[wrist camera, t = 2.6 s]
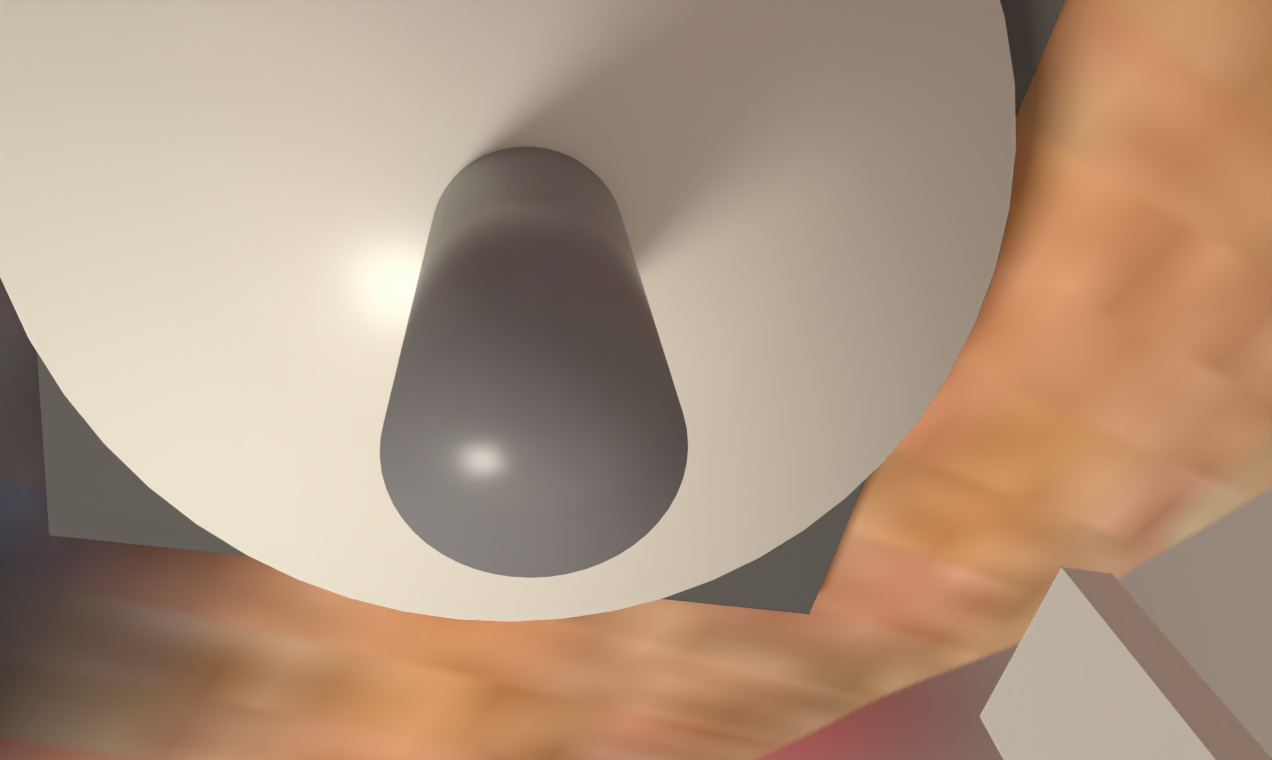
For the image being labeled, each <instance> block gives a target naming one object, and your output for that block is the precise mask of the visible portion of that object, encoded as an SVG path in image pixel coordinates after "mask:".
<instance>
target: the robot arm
mask: <svg viewBox="0 0 1272 760" xmlns="http://www.w3.org/2000/svg"><path fill="white" fill-rule="evenodd" d="M980 718H981V720H982V722H983V723H984V725H985V727H986V729H987V731H988V732H989V734H990V736H991V738H992V740H993V741H994V743H995V745H996V747H997V749H998V750H999V752H1000V754H1001V756H1002V758H1003V759H1004V760H1272V758H1271V757H1270V756H1269V755H1268V753H1267V752H1266V751H1265V750H1264V749H1263V748H1262V747H1261V745H1260V744H1259V743H1258V742H1257V741H1256V740H1255V738H1254V737H1253V736H1252V735H1251V734H1250V733H1249V732H1248V730H1247V729H1246V728H1245V727H1244V726H1243V725H1242V723H1241V722H1240V721H1239V720H1238V719H1237V718H1236V717H1235V715H1234V714H1233V713H1232V712H1231V711H1230V710H1229V708H1227V706H1226V705H1225V704H1224V703H1223V702H1222V700H1221V699H1220V698H1219V697H1218V696H1217V695H1216V694H1215V692H1214V691H1213V690H1212V689H1211V688H1210V687H1209V685H1208V684H1207V683H1206V682H1205V681H1204V680H1203V678H1202V677H1201V676H1200V675H1199V674H1198V673H1197V672H1196V671H1195V669H1194V668H1193V667H1192V666H1191V665H1190V663H1189V662H1188V661H1187V660H1186V659H1185V658H1184V657H1183V656H1182V654H1181V653H1180V652H1179V651H1178V650H1177V649H1176V647H1175V646H1174V645H1173V644H1172V643H1171V642H1170V641H1169V639H1168V638H1167V637H1166V636H1165V635H1164V634H1163V632H1162V631H1161V630H1160V629H1159V628H1158V627H1157V625H1156V624H1155V623H1154V622H1153V621H1152V620H1151V619H1150V617H1149V616H1148V615H1147V614H1146V613H1145V612H1144V611H1143V609H1142V608H1141V607H1140V606H1139V605H1138V604H1137V602H1136V601H1135V600H1134V599H1133V598H1132V597H1131V595H1130V594H1129V593H1128V592H1127V591H1126V590H1125V589H1124V587H1123V586H1122V585H1121V584H1120V583H1119V582H1118V580H1117V579H1116V578H1115V577H1114V576H1113V575H1112V574H1110V573H1103V572H1095V571H1087V570H1079V569H1071V568H1063V567H1061V569H1060V571H1059V573H1058V574H1057V576H1056V578H1055V580H1054V582H1053V583H1052V585H1051V587H1050V589H1049V591H1048V593H1047V594H1046V596H1045V598H1044V600H1043V602H1042V604H1041V605H1040V607H1039V609H1038V611H1037V613H1036V614H1035V616H1034V618H1033V620H1032V622H1031V624H1030V625H1029V627H1028V629H1027V631H1026V633H1025V635H1024V636H1023V638H1022V640H1021V642H1020V644H1019V646H1018V647H1017V649H1016V651H1015V653H1014V655H1013V656H1012V659H1011V660H1010V662H1009V664H1008V666H1007V668H1006V669H1005V671H1004V673H1003V675H1002V677H1001V678H1000V680H999V682H998V684H997V686H996V687H995V689H994V691H993V693H992V695H991V697H990V698H989V700H988V702H987V704H986V706H985V708H984V709H983V711H982V713H981V715H980Z"/></svg>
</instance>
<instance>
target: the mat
mask: <svg viewBox="0 0 1272 760" xmlns="http://www.w3.org/2000/svg"><path fill="white" fill-rule="evenodd" d="M1000 3H1001V6H1002V9H1003V13H1004V16H1005V22H1006V29H1007V35H1008V42H1009V49H1010V55H1011V62H1012V68H1013V75H1014V82H1015V118H1016V116H1017V113H1018V111H1019V108H1020V106H1021V104H1022V101H1023V99H1024V96H1025V94H1026V92H1027V89H1028V87H1029V84H1030V82H1031V80H1032V77H1033V75H1034V72H1035V70H1036V68H1037V65H1038V63H1039V60H1040V58H1041V56H1042V53H1043V51H1044V48H1045V46H1046V44H1047V41H1048V39H1049V36H1050V34H1051V32H1052V29H1053V27H1054V24H1055V22H1056V20H1057V17H1058V15H1059V12H1060V10H1061V8H1062V5H1063V3H1064V0H1000ZM37 360H38V375H39V390H40V405H41V419H42V434H43V449H44V464H45V479H46V494H47V509H48V523H49V535H53V536H62V537H72V538H82V539H91V540H101V541H110V542H120V543H130V544H139V545H149V546H158V547H168V548H178V549H187V550H197V551H207V552H216V553H226V554H235V555H245V556H248V555H246V554H244V553H243V552H241V551H239V550H238V549H236V548H234V547H233V546H231V545H230V544H228V543H226V542H225V541H223V540H221V539H220V538H218V537H217V536H215V535H213V534H212V533H210V532H208V531H207V530H205V529H204V528H202V527H200V526H199V525H197V524H196V523H194V522H193V521H192V520H190V519H189V518H188V517H187V516H185V515H184V514H183V513H181V512H180V511H179V510H178V509H176V508H175V507H174V506H172V505H171V504H170V503H169V502H167V501H166V500H165V499H163V498H162V497H161V496H159V495H158V494H157V493H156V492H154V491H153V490H152V489H150V488H149V487H148V486H147V485H146V484H145V483H144V482H143V481H142V480H141V479H140V478H139V477H138V476H137V475H136V474H135V473H134V472H133V471H132V470H131V469H130V468H128V467H127V466H126V465H125V464H124V463H123V462H122V461H121V460H120V459H119V458H118V457H117V456H116V455H115V454H114V453H113V452H112V451H111V450H110V449H109V448H108V447H107V446H106V445H105V444H104V443H103V442H102V441H101V439H100V438H99V437H98V436H97V434H96V433H95V432H94V431H93V430H92V428H91V427H90V426H89V425H88V423H87V422H86V421H85V420H84V418H83V417H82V416H81V415H80V414H79V412H78V411H77V410H76V409H75V407H74V406H73V405H72V404H71V402H70V401H69V400H68V399H67V398H66V396H65V395H64V394H63V392H62V391H61V389H60V387H59V386H58V384H57V383H56V381H55V379H54V378H53V376H52V375H51V373H50V372H49V370H48V368H47V367H46V365H45V364H44V362H43V360H42V359H41V357H40V356H39V354H38V352H37ZM864 481H865V480H864ZM864 481H863V482H862V483H861V484H860V485H859V486H858V487H857V488H856V489H854V490H853V491H852V492H851V493H850V494H849V495H848V496H847V497H846V498H845V499H844V500H842V501H841V502H840V503H839V504H837V505H836V506H835V507H833V508H832V509H831V510H829V511H828V512H827V513H826V514H824V515H823V516H822V517H820V518H819V519H818V520H816V521H815V522H814V523H813V524H811V525H810V526H809V527H807V528H806V529H805V530H803V531H802V532H800V533H799V534H797V535H795V536H794V537H792V538H791V539H789V540H787V541H786V542H784V543H782V544H781V545H779V546H778V547H776V548H774V549H773V550H771V551H769V552H768V553H766V554H765V555H763V556H761V557H760V558H758V559H756V560H754V561H752V562H749V563H747V564H745V565H743V566H741V567H739V568H737V569H735V570H733V571H731V572H729V573H727V574H725V575H723V576H720V577H718V578H716V579H714V580H712V581H709V582H707V583H704V584H701V585H698V586H696V587H693V588H690V589H687V590H685V591H682V592H679V593H676V594H674V595H671V596H668V597H665V598H662V599H668V600H677V601H687V602H697V603H706V604H716V605H725V606H735V607H745V608H754V609H764V610H773V611H783V612H793V613H802V614H809V613H810V611H811V608H812V606H813V603H814V601H815V599H816V596H817V594H818V591H819V589H820V587H821V584H822V582H823V579H824V577H825V575H826V572H827V570H828V567H829V565H830V563H831V560H832V558H833V555H834V553H835V551H836V548H837V546H838V543H839V541H840V539H841V536H842V534H843V531H844V529H845V527H846V524H847V522H848V519H849V517H850V515H851V512H852V510H853V507H854V505H855V503H856V500H857V498H858V495H859V493H860V491H861V488H862V486H863V483H864Z"/></svg>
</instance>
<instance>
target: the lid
mask: <svg viewBox="0 0 1272 760" xmlns="http://www.w3.org/2000/svg"><path fill="white" fill-rule="evenodd" d="M1015 153H1016V121H1015V82H1014V75H1013V68H1012V62H1011V55H1010V49H1009V42H1008V35H1007V29H1006V22H1005V16H1004V13H1003V9H1002V6H1001V3H1000V0H0V278H1V280H2V282H3V284H4V286H5V289H6V291H7V293H8V295H9V297H10V299H11V301H12V304H13V306H14V308H15V310H16V312H17V314H18V316H19V319H20V321H21V323H22V325H23V327H24V329H25V332H26V334H27V336H28V338H29V340H30V341H31V343H32V345H33V346H34V348H35V349H36V351H37V352H38V354H39V356H40V357H41V359H42V360H43V362H44V364H45V365H46V367H47V368H48V370H49V372H50V373H51V375H52V376H53V378H54V379H55V381H56V383H57V384H58V386H59V387H60V389H61V391H62V392H63V394H64V395H65V396H66V398H67V399H68V400H69V401H70V402H71V404H72V405H73V406H74V407H75V409H76V410H77V411H78V412H79V414H80V415H81V416H82V417H83V418H84V420H85V421H86V422H87V423H88V425H89V426H90V427H91V428H92V430H93V431H94V432H95V433H96V434H97V436H98V437H99V438H100V439H101V441H102V442H103V443H104V444H105V445H106V446H107V447H108V448H109V449H110V450H111V451H112V452H113V453H114V454H115V455H116V456H117V457H118V458H119V459H120V460H121V461H122V462H123V463H124V464H125V465H126V466H127V467H128V468H130V469H131V470H132V471H133V472H134V473H135V474H136V475H137V476H138V477H139V478H140V479H141V480H142V481H143V482H144V483H145V484H146V485H147V486H148V487H149V488H150V489H152V490H153V491H154V492H156V493H157V494H158V495H159V496H161V497H162V498H163V499H165V500H166V501H167V502H169V503H170V504H171V505H172V506H174V507H175V508H176V509H178V510H179V511H180V512H181V513H183V514H184V515H185V516H187V517H188V518H189V519H190V520H192V521H193V522H194V523H196V524H197V525H199V526H200V527H202V528H204V529H205V530H207V531H208V532H210V533H212V534H213V535H215V536H217V537H218V538H220V539H221V540H223V541H225V542H226V543H228V544H230V545H231V546H233V547H234V548H236V549H238V550H239V551H241V552H243V553H244V554H246V555H248V556H250V557H252V558H254V559H256V560H258V561H260V562H262V563H265V564H267V565H269V566H271V567H273V568H275V569H277V570H279V571H281V572H283V573H285V574H288V575H290V576H292V577H294V578H296V579H298V580H301V581H304V582H306V583H309V584H312V585H315V586H318V587H320V588H323V589H326V590H329V591H332V592H334V593H337V594H340V595H343V596H346V597H348V598H352V599H356V600H360V601H364V602H368V603H372V604H376V605H380V606H384V607H388V608H392V609H396V610H400V611H404V612H411V613H418V614H425V615H432V616H439V617H446V618H453V619H466V620H488V621H528V620H547V619H564V618H570V617H577V616H583V615H590V614H596V613H603V612H609V611H615V610H619V609H623V608H627V607H631V606H635V605H639V604H643V603H646V602H650V601H654V600H658V599H662V598H665V597H668V596H671V595H674V594H676V593H679V592H682V591H685V590H687V589H690V588H693V587H696V586H698V585H701V584H704V583H707V582H709V581H712V580H714V579H716V578H718V577H720V576H723V575H725V574H727V573H729V572H731V571H733V570H735V569H737V568H739V567H741V566H743V565H745V564H747V563H749V562H752V561H754V560H756V559H758V558H760V557H761V556H763V555H765V554H766V553H768V552H769V551H771V550H773V549H774V548H776V547H778V546H779V545H781V544H782V543H784V542H786V541H787V540H789V539H791V538H792V537H794V536H795V535H797V534H799V533H800V532H802V531H803V530H805V529H806V528H807V527H809V526H810V525H811V524H813V523H814V522H815V521H816V520H818V519H819V518H820V517H822V516H823V515H824V514H826V513H827V512H828V511H829V510H831V509H832V508H833V507H835V506H836V505H837V504H839V503H840V502H841V501H842V500H844V499H845V498H846V497H847V496H848V495H849V494H850V493H851V492H852V491H853V490H854V489H856V488H857V487H858V486H859V485H860V484H861V483H862V482H863V481H864V480H865V479H866V478H867V477H868V476H869V475H870V474H871V473H872V472H873V471H874V470H875V469H876V468H878V467H879V466H880V465H881V464H882V463H883V462H884V461H885V459H886V458H887V457H888V456H889V455H890V453H891V452H892V451H893V450H894V449H895V448H896V446H897V445H898V444H899V443H900V442H901V440H902V439H903V438H904V437H905V436H906V434H907V433H908V432H909V431H910V430H911V429H912V427H913V426H914V425H915V424H916V423H917V421H918V420H919V419H920V417H921V416H922V414H923V413H924V411H925V410H926V408H927V407H928V405H929V404H930V402H931V401H932V399H933V398H934V396H935V395H936V393H937V392H938V390H939V389H940V387H941V386H942V384H943V383H944V381H945V380H946V378H947V377H948V375H949V373H950V372H951V370H952V368H953V366H954V364H955V362H956V360H957V358H958V356H959V354H960V352H961V350H962V348H963V346H964V344H965V342H966V340H967V338H968V336H969V334H970V332H971V331H972V329H973V327H974V325H975V322H976V320H977V317H978V314H979V312H980V309H981V306H982V303H983V301H984V298H985V295H986V293H987V290H988V287H989V285H990V282H991V279H992V276H993V274H994V271H995V268H996V264H997V260H998V255H999V251H1000V247H1001V243H1002V239H1003V234H1004V230H1005V226H1006V222H1007V218H1008V213H1009V208H1010V199H1011V190H1012V180H1013V171H1014V162H1015Z"/></svg>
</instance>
